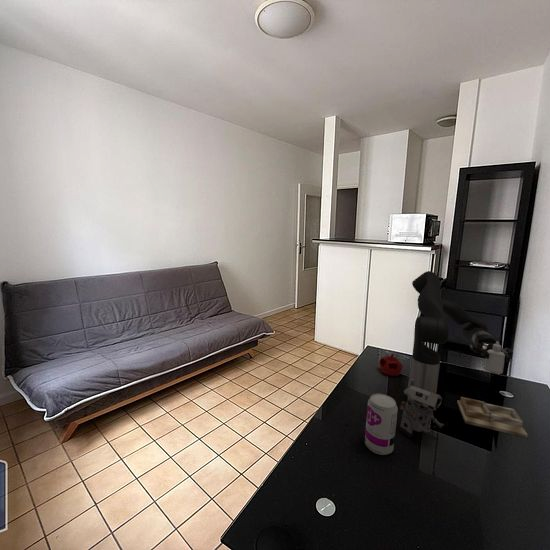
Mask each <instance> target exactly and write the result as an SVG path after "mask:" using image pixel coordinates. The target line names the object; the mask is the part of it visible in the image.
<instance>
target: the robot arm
mask: <svg viewBox="0 0 550 550" xmlns="http://www.w3.org/2000/svg"><path fill="white" fill-rule="evenodd" d="M411 284H412V287H413V289H415V291H416V292H417V293H418V298H417V308H418V310H419V313H421V314H422V315H423V316H421V315H420V316H418V317H416V319H415V323H414V332H413V333H414V334H413V345H412V346H413V348H412V354H411V364H410V372H409V374H408V385H407V387H409V386H410V385H412V386H415V387H418V388H420V389H423V390H426V391H429V392H432V393H437V388H438V382H439V373H440V366H441V355H440V353H439V352H438V351H437V350H435V349H432V348H431V347H428V346H427V345H426V344H424V343H427V344H433V345H434V344H435V345H444V344H446V343H448V340H449V336H450V330H449V324H448V321H447V318H446V316H448V318H450V319H451V320H452V321H453V322H454V323H455V324H457V325H458V326H462V325H465V324H467V323H468V324H467V325H465V326H464V327H463V328H462V329H461V334H462V336H463V337H464V338H465V339H467V340H468V341H471V342H470V343H469V349H470V350H471V351H472V352H474V353H475V354H477V355H479V354H480V355H481V356H483V357H484V358H485V359H489V353H488V350H493V344H496V342H497V339H495V338H494V337H493V336H492V335H491V334H490V333H489V332H488V330H489V329H488V326H487V324H486V323H484V321H481V320H480V319H477V318H475V317H474V316H472V315H470V314H469V313H468V312H467V311H466V310H465V309H464V308H463V307H461V305H459V304H458V303H456V302H454V301H452V300H448V299H444V298H442V295H441V287H442V283H441V280H440V278H439V277H438V275H437V274H436V273H435V272H433V271H429V270H428V271H425V272H423V273H422V274H420V275H419V276H417V278H415V279H414V280H413V281H412V282H411ZM501 352H503V353H504V354H505V361H504V362H506V363H509V362H510V361H511V360H512V359H513V355H514V352H513V350H512V348H511V347H506V348H503V347H502V346H501ZM406 397H407V401H408V400H411V398H410V397H409V395H406Z"/></svg>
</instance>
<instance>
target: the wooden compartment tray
mask: <svg viewBox="0 0 550 550" xmlns="http://www.w3.org/2000/svg"><path fill="white" fill-rule="evenodd" d="M456 403H457V406H458V408H459V412H460V413H461V417H462V419H463V422H464V423H465V424H467V425H471V426H476V427H480V428H484V429H489V430H492V431H493V430H494V431H497V432H501V433H505V434H510V435H515V436H518V437H523V438H527V439H528V436H529V435H528V433H527V432H526V430H525V428H523V422H524V421H523V420H522V418H521V417H520V415H519V414H518V412H517V411H516V410H515V409H514V408H510V407H506V406H501V405H496V404H491V403H487V402H485V401H483V400H478V399H473V398H469V397H464V396H460V400H458V399H457V402H456Z"/></svg>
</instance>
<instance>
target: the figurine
mask: <svg viewBox="0 0 550 550" xmlns="http://www.w3.org/2000/svg"><path fill="white" fill-rule="evenodd" d="M403 394H404V395H406V396H407V395H409V397H410V398H411V400H408V399H405V400H402V401H401V405H400V408H399V411H401V412H402V416H401V422H400V425H399V428H398V430H400V432H402V433H403V434H405V435H406V436H408V438H412V437H414V432H413V431H416V432H418V433H422V432H424V433H426V434H427V433H428V432H429V433H431V434H432V435H434V434H435V432H436V430H435V429H432V430H430V428H429V427H430V422H431V420H432V422H433V423H434V424H436V425H437V427H438V428H440V429H442V428H443V427H446V428H448V426H449V425H448V422H445V423H441V422H439V421H438V419H437V418H436V417H435V416H434V411H436V410H437V409H438V408H439V407H440V405H441V404H442V403H443V402H442V400H443V397H442V396H441V395H440V394H439V393H437V392H436V393H432V392H429V391H426V390H423V389H420V388H418V387H415V386H412V385H410V386H409V387H408V386H407V388H405V389H404V390H403Z"/></svg>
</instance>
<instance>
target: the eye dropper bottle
mask: <svg viewBox="0 0 550 550" xmlns="http://www.w3.org/2000/svg"><path fill="white" fill-rule="evenodd" d="M496 341H497V340H496ZM501 347H502V345H500V342H499V341H497V342H496V344H493V350H488V353H489V359H486V358H485V361H484V367H483V368H484V371H486V372H488V373H489V372H490V373H493V374H498V375H501V374H503V373H504V369H505V368H504V367H505V362H506V361H505V354H504V353H503V352H501Z"/></svg>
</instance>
